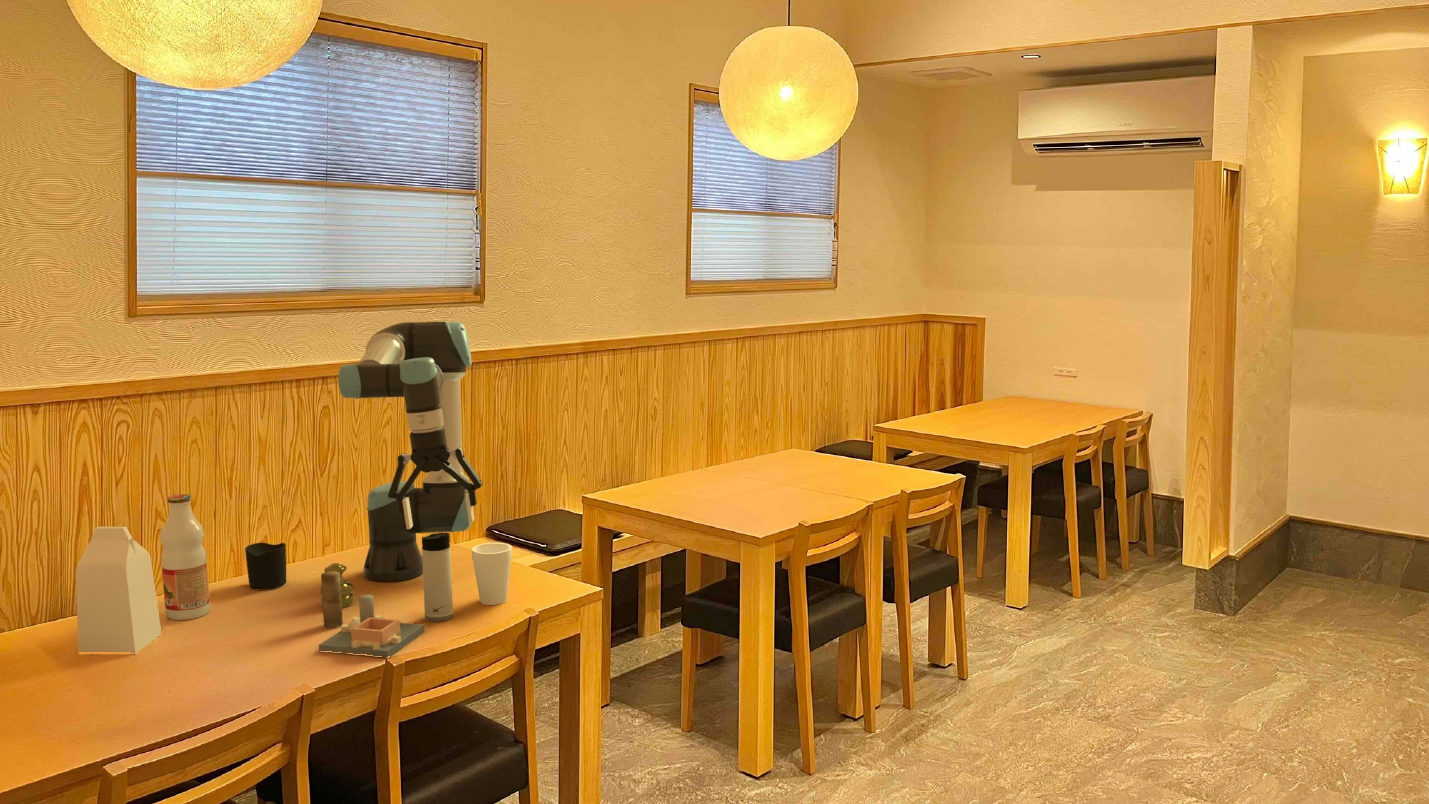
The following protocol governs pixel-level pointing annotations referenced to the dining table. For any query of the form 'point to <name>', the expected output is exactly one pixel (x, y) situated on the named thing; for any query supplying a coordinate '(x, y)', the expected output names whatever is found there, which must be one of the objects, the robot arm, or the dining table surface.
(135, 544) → the milk
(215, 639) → the dining table surface
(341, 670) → the dining table surface
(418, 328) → the robot arm
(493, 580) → the foam cup
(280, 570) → the pen holder
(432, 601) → the travel mug
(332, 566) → the salt shaker
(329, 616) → the wooden dowel peg
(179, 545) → the fruit juice
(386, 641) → the gear board
